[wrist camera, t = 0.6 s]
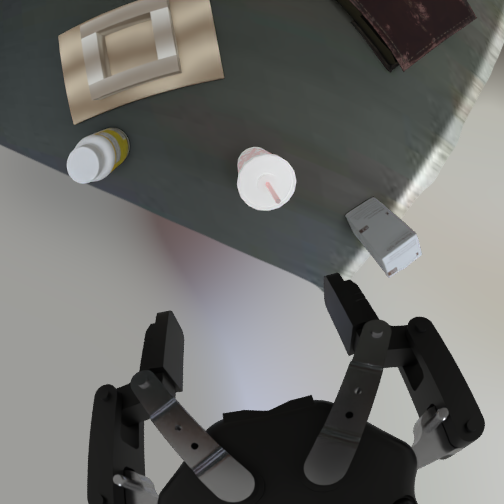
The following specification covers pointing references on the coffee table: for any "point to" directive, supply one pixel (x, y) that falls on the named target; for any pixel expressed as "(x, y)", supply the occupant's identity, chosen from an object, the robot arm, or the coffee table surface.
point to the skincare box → (384, 236)
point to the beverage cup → (264, 179)
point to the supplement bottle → (98, 155)
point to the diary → (407, 26)
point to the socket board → (138, 54)
